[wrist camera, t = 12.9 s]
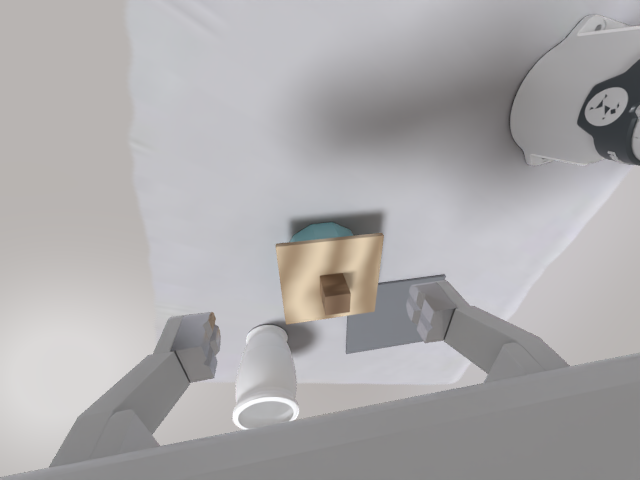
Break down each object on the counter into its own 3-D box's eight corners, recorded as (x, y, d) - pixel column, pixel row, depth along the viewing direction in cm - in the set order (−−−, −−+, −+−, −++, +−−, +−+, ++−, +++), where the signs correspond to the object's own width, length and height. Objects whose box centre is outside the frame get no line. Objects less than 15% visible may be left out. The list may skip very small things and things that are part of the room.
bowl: (360, 219, 43) (374, 239, 37) (356, 280, 50) (367, 304, 44) (281, 227, 41) (283, 249, 36) (288, 288, 48) (291, 315, 42)
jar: (301, 340, 56) (311, 415, 43) (261, 360, 57) (259, 439, 44) (273, 312, 50) (275, 389, 38) (229, 335, 52) (216, 417, 39)
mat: (444, 274, 53) (445, 276, 52) (425, 338, 63) (426, 340, 63) (348, 287, 50) (349, 288, 50) (345, 352, 60) (346, 354, 60)
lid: (381, 232, 37) (397, 253, 32) (372, 308, 45) (384, 333, 40) (275, 243, 35) (276, 267, 30) (285, 320, 43) (287, 348, 38)
